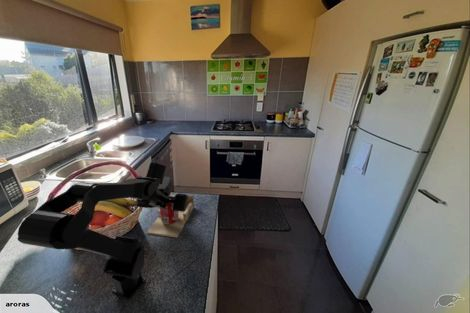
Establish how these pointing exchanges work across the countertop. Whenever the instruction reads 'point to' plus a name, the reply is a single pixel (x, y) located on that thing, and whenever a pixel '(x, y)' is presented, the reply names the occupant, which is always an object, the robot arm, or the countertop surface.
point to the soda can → (169, 212)
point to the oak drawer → (175, 227)
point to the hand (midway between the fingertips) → (170, 204)
